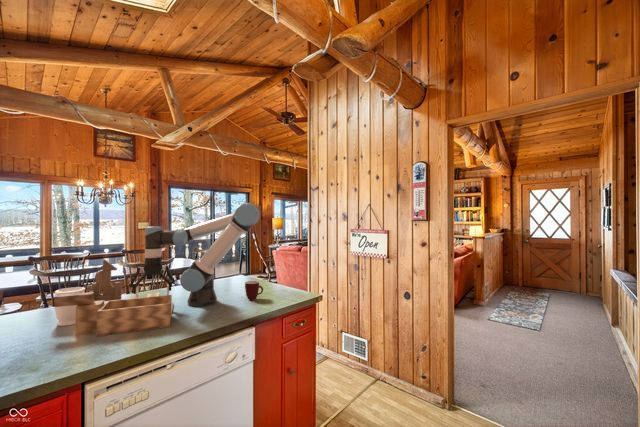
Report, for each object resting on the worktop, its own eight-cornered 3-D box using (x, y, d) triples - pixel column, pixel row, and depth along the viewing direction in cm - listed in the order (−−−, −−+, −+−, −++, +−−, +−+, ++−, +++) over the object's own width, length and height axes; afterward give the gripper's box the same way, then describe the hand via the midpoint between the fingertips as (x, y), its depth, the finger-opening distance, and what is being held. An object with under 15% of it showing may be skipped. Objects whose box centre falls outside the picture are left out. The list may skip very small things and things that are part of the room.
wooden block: (94, 301, 125) (94, 291, 125) (91, 303, 121) (91, 294, 121) (58, 304, 119) (58, 294, 120) (54, 307, 116) (54, 297, 116)
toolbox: (171, 315, 142) (171, 291, 142) (169, 326, 128) (170, 300, 128) (84, 325, 128) (84, 299, 128) (71, 339, 113) (71, 310, 113)
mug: (259, 296, 178) (259, 279, 178) (265, 299, 172) (265, 282, 172) (242, 298, 172) (243, 281, 172) (247, 302, 166) (248, 284, 166)
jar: (48, 325, 128) (49, 290, 128) (75, 317, 138) (75, 285, 138) (63, 328, 124) (64, 293, 125) (90, 320, 134) (90, 287, 134)
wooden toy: (84, 311, 148) (85, 261, 148) (86, 307, 153) (87, 259, 154) (120, 306, 156) (121, 259, 156) (121, 303, 161) (122, 258, 162)
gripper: (180, 254, 157) (180, 294, 157) (125, 257, 147) (124, 299, 147) (180, 256, 150) (179, 297, 150) (122, 259, 140) (122, 303, 140)
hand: (152, 298), depth 148 cm, fingers open, 13 cm apart
